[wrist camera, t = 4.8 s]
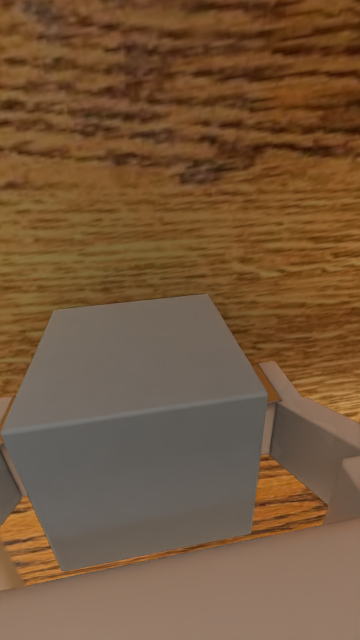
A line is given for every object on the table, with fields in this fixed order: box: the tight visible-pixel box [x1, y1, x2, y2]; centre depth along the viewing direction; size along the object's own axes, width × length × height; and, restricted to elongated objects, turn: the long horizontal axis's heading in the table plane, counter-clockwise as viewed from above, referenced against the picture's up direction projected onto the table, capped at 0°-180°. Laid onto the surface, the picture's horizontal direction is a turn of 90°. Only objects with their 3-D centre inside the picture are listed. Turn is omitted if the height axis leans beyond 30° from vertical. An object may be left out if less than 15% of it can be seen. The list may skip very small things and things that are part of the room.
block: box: [1, 294, 268, 571], centre depth 8 cm, size 4×4×4 cm
